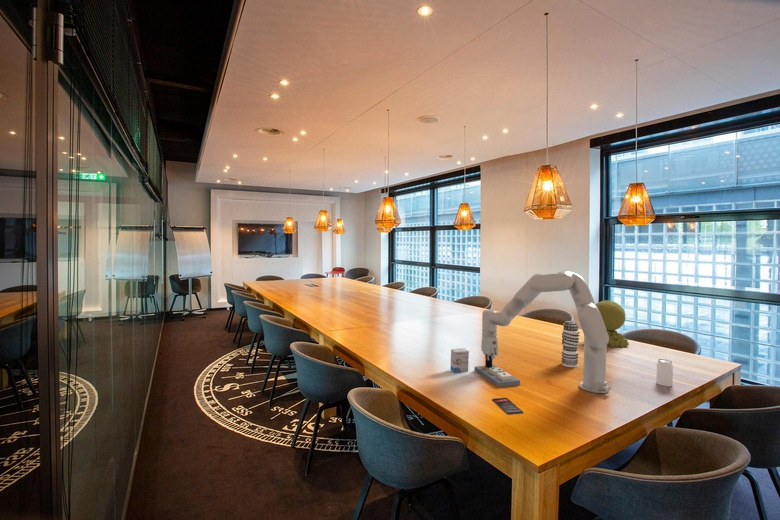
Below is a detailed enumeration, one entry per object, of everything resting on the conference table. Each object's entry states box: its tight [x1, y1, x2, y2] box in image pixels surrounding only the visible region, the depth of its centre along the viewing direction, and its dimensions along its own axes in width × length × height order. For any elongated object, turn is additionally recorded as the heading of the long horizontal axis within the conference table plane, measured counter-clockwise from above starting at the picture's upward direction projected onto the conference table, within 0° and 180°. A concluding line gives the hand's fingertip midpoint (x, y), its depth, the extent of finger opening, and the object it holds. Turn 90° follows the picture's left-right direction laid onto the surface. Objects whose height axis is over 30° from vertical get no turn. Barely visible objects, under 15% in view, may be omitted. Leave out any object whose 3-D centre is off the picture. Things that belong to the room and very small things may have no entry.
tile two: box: [489, 366, 504, 376], centre depth 195 cm, size 5×5×3 cm
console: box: [474, 364, 521, 388], centre depth 195 cm, size 24×12×2 cm, turn 16°
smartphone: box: [491, 397, 524, 416], centre depth 162 cm, size 7×1×15 cm
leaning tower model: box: [561, 320, 580, 368], centre depth 216 cm, size 9×9×25 cm
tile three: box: [481, 365, 494, 371], centre depth 203 cm, size 5×5×3 cm
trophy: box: [595, 300, 630, 348], centre depth 263 cm, size 22×22×30 cm
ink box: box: [450, 347, 470, 374], centre depth 205 cm, size 8×5×12 cm, turn 105°
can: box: [655, 358, 674, 388], centre depth 187 cm, size 6×6×12 cm
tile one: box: [497, 371, 513, 381], centre depth 188 cm, size 5×5×3 cm
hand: (488, 366), depth 203 cm, fingers closed
